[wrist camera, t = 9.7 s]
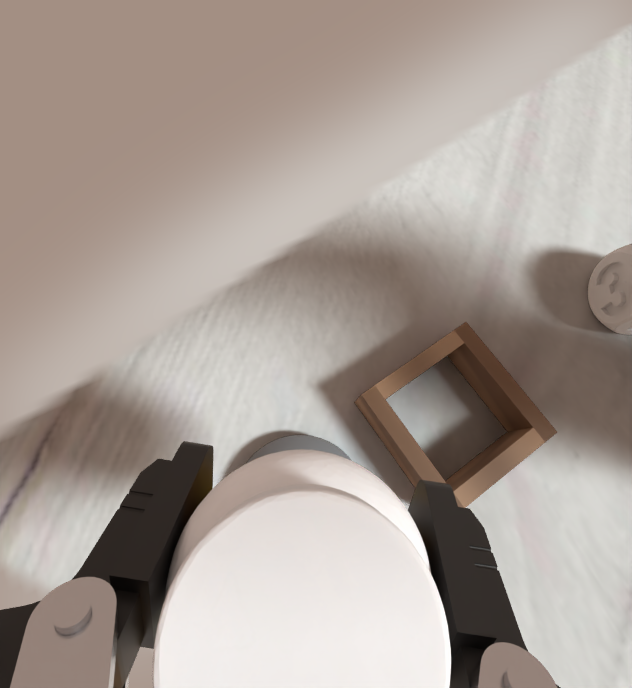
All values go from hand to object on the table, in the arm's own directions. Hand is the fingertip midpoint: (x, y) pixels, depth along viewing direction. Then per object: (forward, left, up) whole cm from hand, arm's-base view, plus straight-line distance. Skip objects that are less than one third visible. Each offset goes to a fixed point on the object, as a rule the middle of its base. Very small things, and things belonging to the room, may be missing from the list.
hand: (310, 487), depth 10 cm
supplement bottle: (+1, +1, -5) cm, 5 cm away
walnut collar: (-9, +2, -15) cm, 18 cm away
